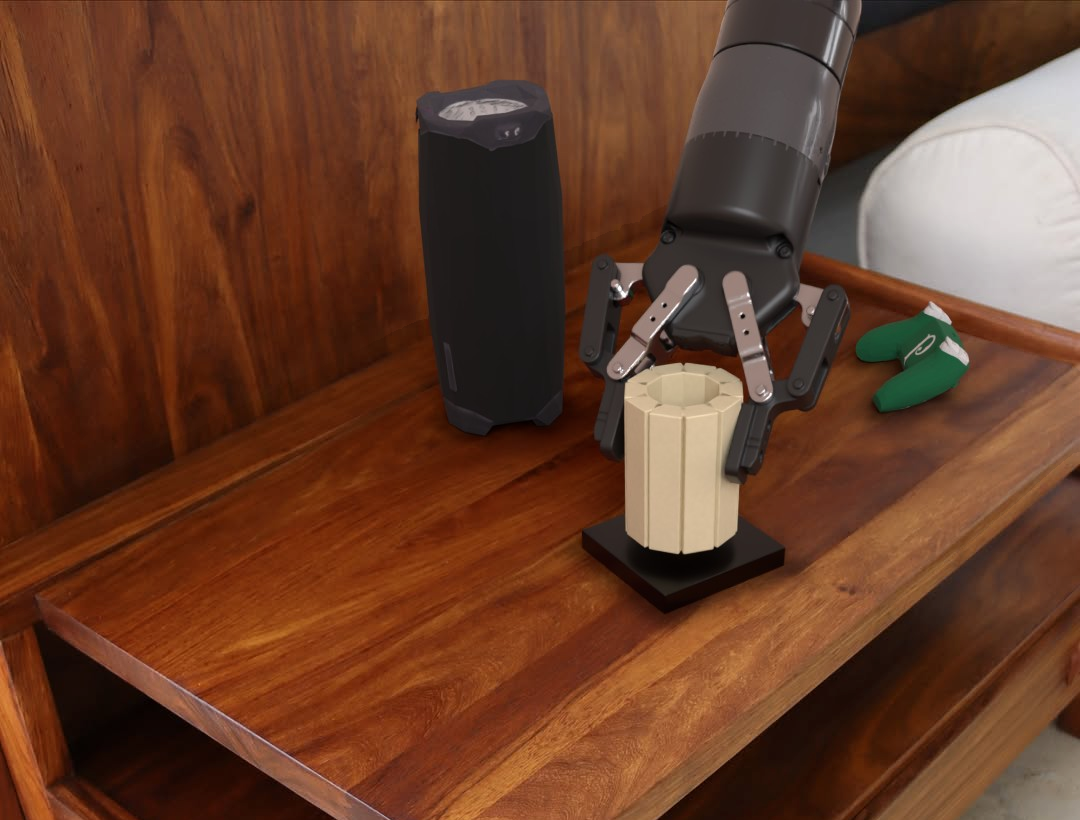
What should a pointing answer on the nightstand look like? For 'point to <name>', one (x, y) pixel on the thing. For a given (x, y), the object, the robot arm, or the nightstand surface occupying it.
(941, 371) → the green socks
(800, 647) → the nightstand surface
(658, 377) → the cream hollow cylinder
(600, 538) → the stand
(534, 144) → the portable speaker
